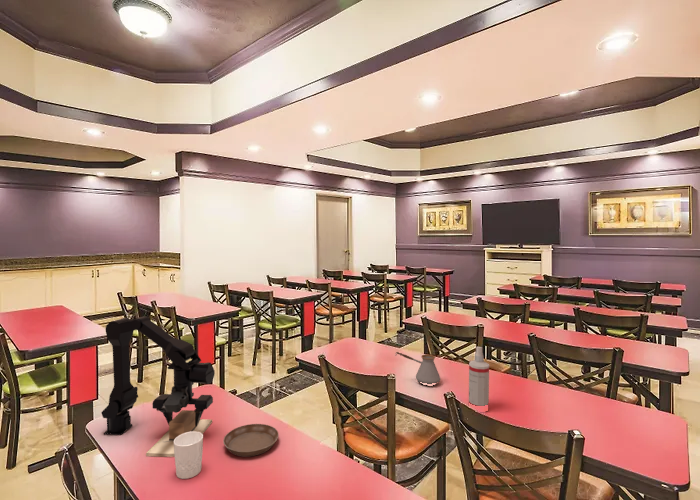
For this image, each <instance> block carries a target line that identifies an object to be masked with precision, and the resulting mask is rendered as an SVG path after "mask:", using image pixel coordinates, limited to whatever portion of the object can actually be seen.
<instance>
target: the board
mask: <svg viewBox="0 0 700 500" xmlns="http://www.w3.org/2000/svg"><path fill="white" fill-rule="evenodd" d="M212 423H213V419H209V418H208V419H207V418H206V419H201V418H200V421H199V424H198V426H197V427H196V428H195V429H194V430H193V431H192V432H200V433H202V434H203V435H204V433H205V432H206V431H207V430H208V428H209V427H210V425H211V424H212ZM145 456H146V457H154V458H155V457H156V458H157V457H158V458H160V457H164V458H167V457H168V458H175V455H174V441H169V430H167V432H166V433H165V434H164V435H163V436H162V437H161V438H160V439H158V441H156V443H155V444H154V445H153V446H152V447H150V448H149V450H148V451H147V452H146V453H145Z"/></svg>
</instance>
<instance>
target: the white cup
mask: <svg viewBox="0 0 700 500" xmlns="http://www.w3.org/2000/svg"><path fill="white" fill-rule="evenodd" d="M203 446H204V433H203V434H202V433H200V432H187V433H183V434H181V435H179V436H177V437H176V438H175V439H174V455H175V457H174V465H175V474H176V477H177V478H179V479H182V480H184V479H185V480H188V479H191V478H192V479H193V478H194V477H196V476H198V474H200V473H201V471H202V464H203V463H202V461H203V448H204V447H203Z"/></svg>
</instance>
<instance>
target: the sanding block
mask: <svg viewBox="0 0 700 500" xmlns="http://www.w3.org/2000/svg"><path fill="white" fill-rule="evenodd" d="M194 410H195V409H194ZM194 410H193V409H191V410H190V409H189V410H186V409H181V411H180V412H178V413H177V414H176V416H174V417H173V418H172V420H171V421H170V422H169V425H168V431H169V441H174V439H175V438H176V437H177V436H179V435H181V434H183V433H187V432H192V431H193V430H194V429H195V428H196V427H195V412H194Z"/></svg>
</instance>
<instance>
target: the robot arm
mask: <svg viewBox="0 0 700 500" xmlns="http://www.w3.org/2000/svg"><path fill="white" fill-rule="evenodd" d="M134 331H138V332H139V333H141V334H142V335H144V336H145V337H146V338H147V339H149V340H150V341H152V342H153V343H154V344H156V345H157V346H158V347H160V348H161V349H162V350H163V351H164V353H165V356H166V357H167V359H169V360H170V361H171V363H170V364H169V365H168V366H167V369H168V370H173V386H172V387H171V392H170V393H161V394H160V395H159V396H157V397H156V398H155V399H154V400H153V401H152V409H154V410H155V409H156V411H157V412H160V413H162V414H163V416H164V417H165V420H166V422H167V424H168V426H169V422H170V421H171V420H172V419H173V418H174V417H173V416H174V415H173V413H176V414H178V413H180V412H181V411H182V409H183V408H187V407H188V405H194V408H195V409H194V412H195V427H197V426H198V424H199V421H200V419H201V418H202V416H203V413H204V411H205V410H207V409H209V407H210V406H211V405H212V404H213V402H214V397H213V395H211V394H200V395H199V396H198V397H197V398H194V395H195V393H194V392H193V385H194V383H195V384H204V385H205V384H206V385H207V384H209V385H210V384H211V383H213V380H214V379H215V374H216V373H215V369H214V366H213V365H212V362H202V359H201V357H200V355H199V354H198V353H197V351H196V350H195V347H194V345H193V344H191V343H190V342H188V341H186V340H182V339H179V338H175V337H174V336H172V334H169V333H168V332H167V331H166V330H164V329H163V328H162V327H160V326H159V325H157V323H155V322H153V321H152V320H151V318H150V317H148V316H141V317H135V318H129V317H122V318H119V319H115V320H112V321H109V322H108V323H107V324H106V325H105V334H106V339H107V341H108V342H109V344H110V345H111V347H112V369H113V388H112V390H111V392H110V394H109V397H108V398H109V399H108V405H107V406H106V407H105V408H104V409H103V410H102V411H101V416H102V419H106V430H105V431H104V432H103V435H118V436H120V435H123V434H124V433H125V432H127V430H129V429H130V428H131V427H133V423H131V421H132V419H131V414H130V410H131V409H133V408H134V404H135V403H136V402H137V399H138V398H139V395H138V390H139V388H138V386H133V384H132V382H131V362H130V360H131V359H130V341H131V339H132V338H133V335H134Z"/></svg>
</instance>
